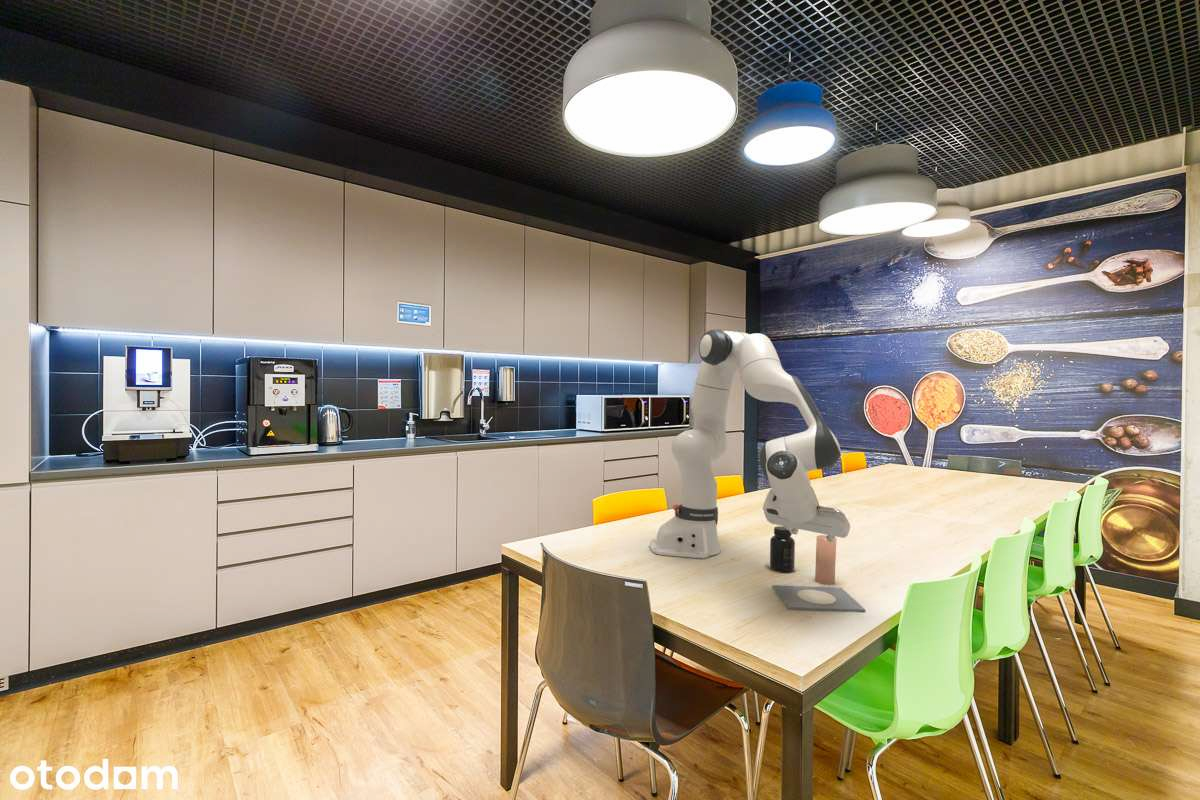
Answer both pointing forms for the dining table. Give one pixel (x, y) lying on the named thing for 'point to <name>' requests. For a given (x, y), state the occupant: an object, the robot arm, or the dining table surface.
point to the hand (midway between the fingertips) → (812, 535)
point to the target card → (816, 598)
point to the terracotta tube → (825, 560)
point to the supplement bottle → (782, 550)
